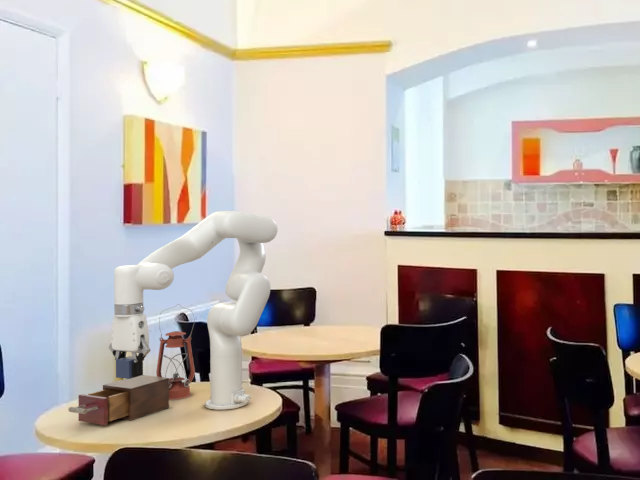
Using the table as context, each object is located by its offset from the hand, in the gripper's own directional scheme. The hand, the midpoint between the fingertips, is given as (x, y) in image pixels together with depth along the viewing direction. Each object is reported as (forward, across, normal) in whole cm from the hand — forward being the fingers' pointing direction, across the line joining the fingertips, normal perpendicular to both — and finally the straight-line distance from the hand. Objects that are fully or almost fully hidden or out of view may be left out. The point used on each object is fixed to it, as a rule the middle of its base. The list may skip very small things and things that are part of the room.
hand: (129, 374), depth 191 cm
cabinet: (+15, +11, -13) cm, 22 cm away
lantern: (+15, +14, -32) cm, 38 cm away
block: (0, 0, 0) cm, 0 cm away
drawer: (+14, +11, -1) cm, 18 cm away
